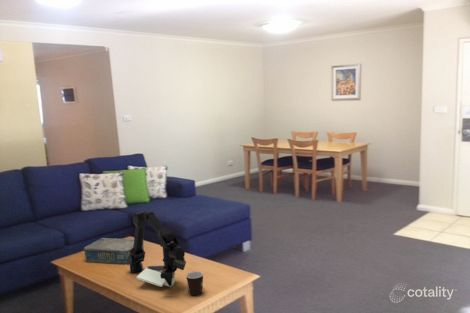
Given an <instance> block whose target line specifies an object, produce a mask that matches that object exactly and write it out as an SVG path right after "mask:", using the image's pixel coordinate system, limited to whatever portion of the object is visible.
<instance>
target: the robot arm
mask: <svg viewBox="0 0 470 313" xmlns="http://www.w3.org/2000/svg"><path fill="white" fill-rule="evenodd" d="M132 223H133V224H134V225H135V229H134V237H133V240H134V246H133V248H132V249H131V251H130V254H129V257H128V259H127V260H126V261H127V264H129V272H130V274H140V273H141V272H142V271H143V270H144V265H143V264H144V263H142V262H144V261H145V257H146V252H145V249H144V250H143V249H142V245H143V246H144V242H143V240H144V234H145V227H147V224H149V225H150V227H152V229H153V230H154V231H155V233H156V234H157V237H158V238H157V239H158V241H159V242H160V247H162V257H163V258H162V262H163V265H164V267H163V269H166V270H163V271H162V273H161V275H160V276H161V279H165V280H166V282H167V283H168V285H169V286H168V287H170V286H171V285H172V278H173V277H175V274H176V271H177V270H180V271H184V270H185V268H186V265H187V261H186V259H185V256H186V255H185V254H186V253H185V250H183V249H182V247H181V246H180V243H179V240H178V237H177V236H176V234H175V233H174V232H173V230H171V229H169V228H167V227H165V225H163V223H162V222H161V221H160V220H159V218H158V217H157V216H156V214H155V212H154V211H148V212H147V211H146V210H144V211H139V212H135V213H133V216H132ZM172 286H173V285H172ZM172 286H171V287H172Z"/></svg>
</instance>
